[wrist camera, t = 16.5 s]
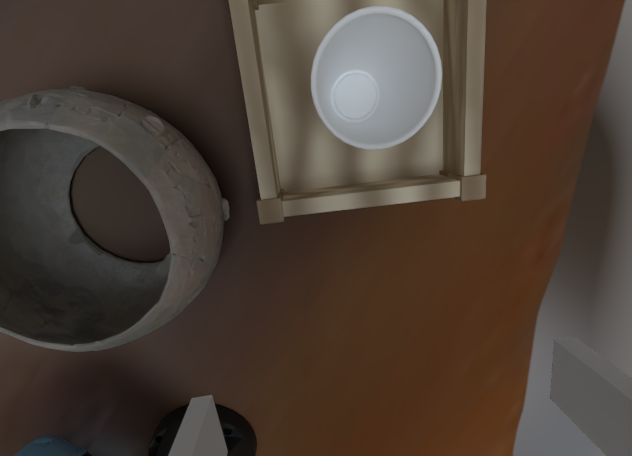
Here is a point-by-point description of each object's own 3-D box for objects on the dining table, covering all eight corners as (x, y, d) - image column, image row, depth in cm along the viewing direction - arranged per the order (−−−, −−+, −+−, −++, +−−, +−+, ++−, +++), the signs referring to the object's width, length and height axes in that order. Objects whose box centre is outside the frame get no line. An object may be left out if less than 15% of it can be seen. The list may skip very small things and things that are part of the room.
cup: (350, 22, 33) (371, -30, 22) (419, 89, 35) (470, 71, 24) (289, 104, 35) (283, 92, 24) (359, 163, 37) (381, 175, 26)
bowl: (219, 309, 42) (175, 401, 28) (35, 268, 40) (-118, 345, 25) (258, 132, 36) (227, 133, 22) (43, 71, 34) (-153, 26, 19)
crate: (267, 209, 39) (260, 224, 32) (232, -13, 32) (215, -47, 26) (456, 187, 39) (485, 198, 32) (460, -39, 32) (496, -80, 26)
